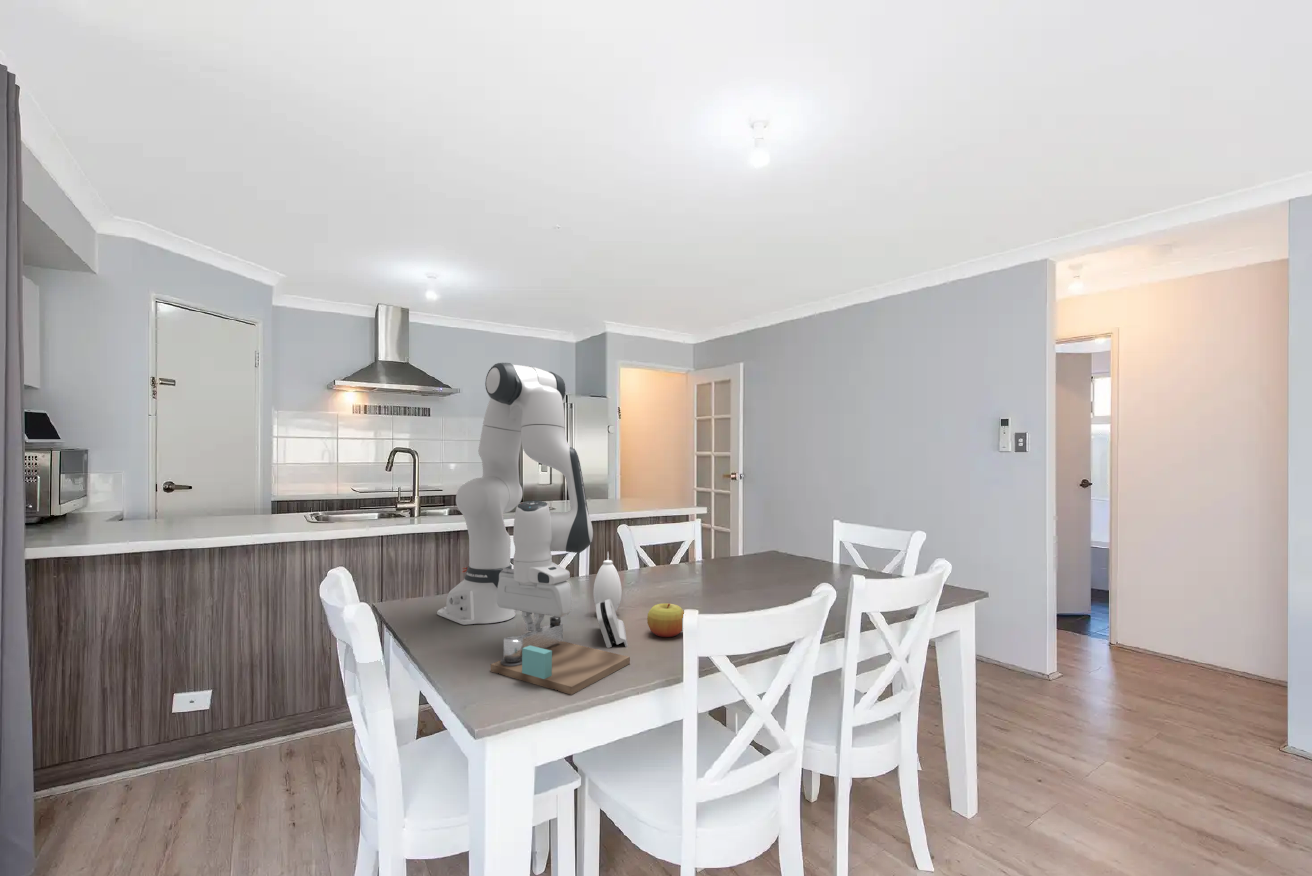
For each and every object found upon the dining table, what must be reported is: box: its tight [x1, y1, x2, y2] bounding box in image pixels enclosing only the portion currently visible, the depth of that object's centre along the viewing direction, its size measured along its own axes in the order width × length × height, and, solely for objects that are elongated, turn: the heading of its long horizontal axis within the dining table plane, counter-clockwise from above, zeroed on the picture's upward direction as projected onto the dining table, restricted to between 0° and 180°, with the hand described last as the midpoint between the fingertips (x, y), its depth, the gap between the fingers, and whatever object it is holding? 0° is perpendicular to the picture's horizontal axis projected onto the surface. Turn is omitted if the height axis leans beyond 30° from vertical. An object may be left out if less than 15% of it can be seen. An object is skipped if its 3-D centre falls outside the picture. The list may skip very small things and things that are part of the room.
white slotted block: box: [595, 599, 629, 649], centre depth 152 cm, size 17×5×10 cm, turn 5°
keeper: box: [522, 646, 552, 679], centre depth 123 cm, size 6×2×5 cm, turn 58°
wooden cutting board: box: [490, 641, 631, 696], centre depth 131 cm, size 22×20×2 cm
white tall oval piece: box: [592, 552, 622, 612], centre depth 172 cm, size 8×8×18 cm
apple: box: [646, 602, 685, 638], centre depth 155 cm, size 10×10×8 cm
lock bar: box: [502, 616, 564, 662], centre depth 135 cm, size 17×4×6 cm, turn 148°
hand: (533, 630), depth 141 cm, fingers closed
